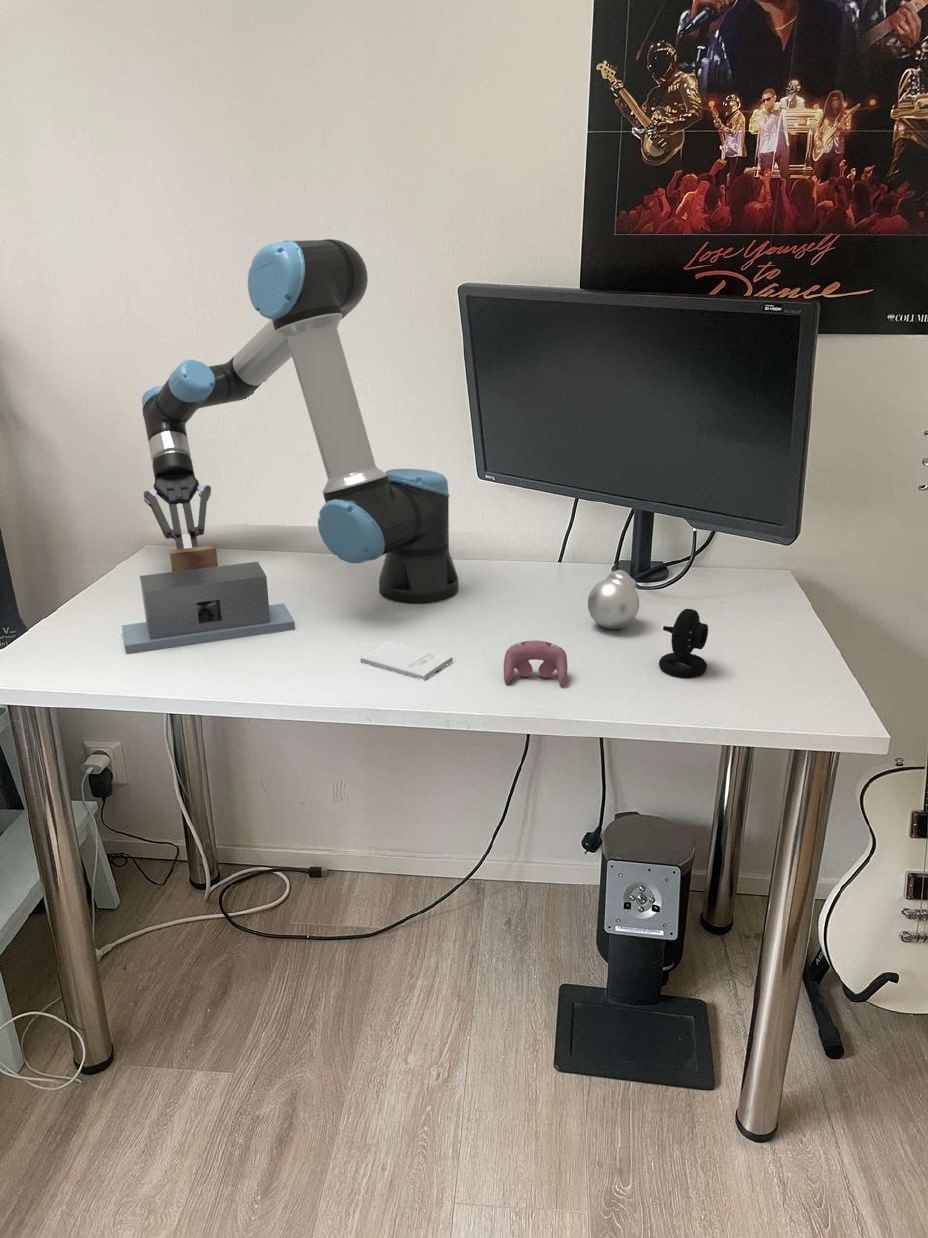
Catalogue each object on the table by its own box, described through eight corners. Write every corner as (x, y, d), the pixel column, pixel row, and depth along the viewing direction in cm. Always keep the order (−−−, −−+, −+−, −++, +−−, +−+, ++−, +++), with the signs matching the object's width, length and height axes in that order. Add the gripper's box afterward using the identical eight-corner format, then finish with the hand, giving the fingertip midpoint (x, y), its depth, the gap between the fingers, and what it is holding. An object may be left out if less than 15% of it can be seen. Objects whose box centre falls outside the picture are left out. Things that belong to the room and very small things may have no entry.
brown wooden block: (219, 596, 188) (214, 545, 185) (229, 618, 179) (223, 564, 175) (175, 601, 186) (169, 550, 182) (182, 624, 176) (176, 570, 172)
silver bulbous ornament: (650, 631, 174) (654, 577, 170) (602, 640, 170) (605, 584, 166) (623, 613, 181) (626, 560, 178) (577, 621, 178) (579, 567, 174)
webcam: (696, 683, 155) (702, 623, 151) (651, 672, 159) (655, 613, 155) (713, 664, 161) (719, 606, 157) (669, 654, 165) (674, 597, 161)
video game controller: (566, 686, 158) (568, 642, 158) (567, 686, 153) (568, 640, 154) (503, 684, 159) (505, 640, 159) (502, 684, 154) (503, 638, 155)
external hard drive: (390, 648, 169) (453, 664, 163) (360, 666, 163) (424, 684, 157) (390, 639, 169) (453, 655, 162) (360, 656, 162) (424, 674, 156)
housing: (284, 610, 183) (280, 558, 179) (295, 629, 175) (291, 575, 171) (123, 633, 174) (115, 578, 170) (126, 653, 166) (118, 597, 162)
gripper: (205, 467, 203) (225, 572, 195) (137, 473, 199) (155, 580, 191) (206, 447, 197) (226, 554, 189) (136, 453, 192) (154, 563, 185)
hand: (191, 567), depth 190 cm, fingers closed
